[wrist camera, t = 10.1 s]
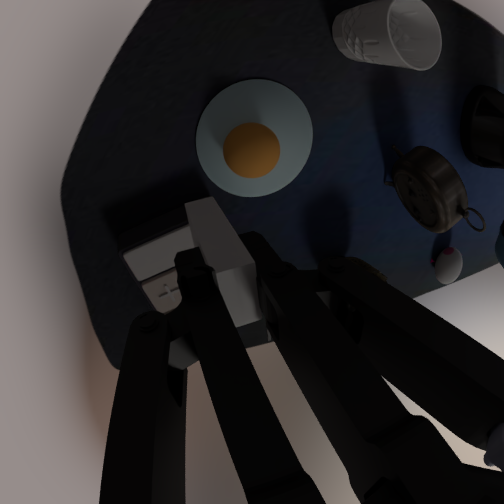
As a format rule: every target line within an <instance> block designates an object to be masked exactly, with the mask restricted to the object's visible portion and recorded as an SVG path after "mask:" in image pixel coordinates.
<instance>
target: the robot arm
mask: <svg viewBox="0 0 504 504" xmlns="http://www.w3.org/2000/svg"><path fill="white" fill-rule="evenodd" d="M461 141H462V146H463V150H464V153H465V155H466V157H467V158H468V160H469V161H470V162H472V163H474V164H476V165H478V166H481V167H485V168H500V169H504V94H502V93H501V92H499V91H498V90H496V89H494V88H492V87H488V86H484V85H480V86H477V87H475V88H474V89H473V90H472V91H471V92H470V94H469V96H468V98H467V100H466V102H465V105H464V109H463V113H462V119H461ZM184 204H185V208H186V213H187V217H188V222H189V226H190V230H191V235H192V239H193V243H194V247H195V248H191V249H187V250H184V251H180V252H177V253H176V256H175V258H174V263H175V267H176V271H177V284H178V287H179V290H180V293H181V296H182V300H181V302H180V304H179V305H178V306H177V307H176V308H175V309H174V310H172V311H171V312H169V313H167V314H166V315H164V313H161V312H159V311H149V312H145V313H143V314H141V315H139V316H137V317H136V318H135V319H134V320H133V322H132V324H131V326H130V329H129V333H128V337H127V341H126V346H125V350H124V354H123V359H122V363H121V367H120V372H119V377H118V381H117V386H116V392H115V396H114V402H113V407H112V412H111V418H110V424H109V430H108V436H107V442H106V449H105V456H104V464H103V471H102V480H101V490H100V499H99V504H185V433H186V398H187V373H188V370H187V367H188V366H190V365H192V364H193V363H195V362H197V361H198V360H199V361H200V364H201V368H202V371H203V374H204V378H205V381H206V384H207V387H208V390H209V394H210V397H211V400H212V403H213V406H214V409H215V412H216V415H217V418H218V421H219V424H220V427H221V430H222V432H223V435H224V438H225V441H226V444H227V447H228V449H229V452H230V455H231V458H232V460H233V463H234V466H235V468H236V471H237V473H238V476H239V479H240V481H241V484H242V486H243V489H244V492H245V495H246V499H247V501H248V504H326V503H325V501H324V499H323V497H322V495H321V494H320V492H319V490H318V488H317V486H316V485H315V483H314V481H313V480H312V478H311V477H310V476H309V475H308V474H307V473H306V472H305V471H304V469H303V468H302V466H301V464H300V462H299V461H298V459H297V456H296V454H295V452H294V450H293V448H292V446H291V444H290V442H289V440H288V438H287V436H286V434H285V432H284V430H283V428H282V426H281V424H280V422H279V420H278V418H277V416H276V414H275V412H274V410H273V407H272V405H271V403H270V401H269V399H268V397H267V395H266V393H265V391H264V389H263V386H262V384H261V382H260V380H259V378H258V376H257V374H256V371H255V369H254V367H253V365H252V362H251V360H250V358H249V356H248V354H247V352H246V349H245V347H244V345H243V343H242V340H241V338H240V336H239V334H238V331H237V329H236V327H239V326H242V325H245V324H248V323H251V322H254V321H258V320H261V319H262V313H261V310H262V312H263V314H264V316H265V319H266V328H267V337H268V341H270V340H271V336H272V338H273V340H274V342H275V343H276V345H277V347H278V349H279V351H280V353H281V355H282V356H283V358H284V360H285V362H286V364H287V365H288V367H289V369H290V371H291V373H292V375H293V376H294V378H295V380H296V382H297V384H298V385H299V387H300V389H301V390H302V393H303V394H304V396H305V398H306V400H307V402H308V403H309V405H310V407H311V409H312V410H313V412H314V414H315V416H316V417H317V419H318V421H319V423H320V425H321V426H322V428H323V430H324V431H325V433H326V435H327V437H328V439H329V440H330V442H331V444H332V446H333V447H334V449H335V451H336V453H337V454H338V456H339V458H340V460H341V461H342V463H343V465H344V466H345V468H346V470H347V472H348V475H349V480H350V484H351V487H352V489H353V491H354V493H355V494H356V496H357V498H358V500H359V501H360V503H361V504H504V360H503V359H502V358H501V357H499V356H498V355H496V354H495V353H493V352H492V351H490V350H489V349H488V348H486V347H485V346H483V345H482V344H480V343H479V342H477V341H476V340H474V339H473V338H471V337H470V336H468V335H467V334H465V333H464V332H462V331H461V330H459V329H458V328H456V327H455V326H453V325H452V324H450V323H449V322H447V321H446V320H444V319H443V318H441V317H440V316H438V315H436V314H435V313H434V312H432V311H430V310H429V309H427V308H426V307H424V306H423V305H421V304H420V303H418V302H416V301H415V300H413V299H412V298H410V297H409V296H407V295H405V294H404V293H402V292H401V291H399V290H397V289H396V288H394V287H393V286H391V285H389V284H388V283H386V282H384V281H383V280H381V279H380V278H378V277H376V276H375V275H373V274H371V273H370V272H368V271H367V270H365V269H363V268H362V267H360V266H358V265H357V264H355V263H353V262H352V261H350V260H348V259H346V258H343V257H338V256H333V257H328V258H325V259H323V260H322V261H320V263H319V265H318V269H316V270H297V268H296V267H295V266H294V265H292V264H291V263H288V262H283V261H282V260H281V259H280V258H279V256H278V255H277V254H276V252H275V251H274V250H273V249H272V247H270V245H269V243H268V242H266V240H265V238H264V237H263V236H262V235H261V234H259V233H257V232H255V231H251V232H247V233H244V234H240V235H237V233H236V232H235V230H234V229H233V227H232V226H231V224H230V223H229V221H228V219H227V218H226V216H225V215H224V213H223V212H222V210H221V209H220V207H219V205H218V204H217V202H216V201H215V199H214V198H213V196H212V197H208V198H204V199H200V200H196V201H192V202H188V203H184ZM495 253H496V256H497V259H498V261H499V262H500V264H501V265H502V267H503V268H504V220H503V223H502V224H501V226H500V232H499V235H498V238H497V241H496V244H495ZM350 305H351V306H353V307H354V308H356V309H354V308H352V307H351V306H350ZM382 376H383V377H384V378H385V379H386V380H387V381H389V382H390V383H391V384H392V385H394V386H395V387H396V388H397V389H399V390H400V391H401V392H402V393H404V394H405V395H406V396H407V397H409V398H410V399H411V400H412V401H413V402H415V403H416V404H417V405H419V406H420V407H421V408H422V409H423V410H425V411H426V412H427V413H429V414H430V415H431V416H432V417H433V418H435V419H436V420H437V421H438V422H440V423H441V424H442V425H443V426H445V427H446V428H447V429H449V430H450V431H451V432H452V433H454V434H455V435H456V436H458V437H459V438H461V439H462V440H463V441H465V442H467V443H469V444H470V445H473V446H474V447H476V448H479V449H482V450H485V451H486V453H485V455H484V463H485V464H486V465H487V466H494V465H495V466H497V467H498V468H500V469H501V471H502V472H501V471H496V470H491V469H486V468H481V467H477V466H473V465H468V464H464V463H462V462H461V461H460V459H459V458H458V457H457V456H456V454H455V453H454V451H453V450H452V449H451V447H450V446H449V445H448V443H447V442H446V441H445V439H444V438H443V437H442V435H441V434H440V433H439V431H438V430H437V429H436V427H435V426H434V425H433V424H432V423H431V422H430V421H429V420H428V419H427V418H425V417H424V416H420V415H412V414H410V413H409V412H408V411H407V409H406V408H405V407H404V405H403V404H402V403H401V401H400V400H399V399H398V397H397V396H396V395H395V393H394V392H393V391H392V389H391V388H390V387H389V385H388V384H387V383H386V382H385V380H384V379H383V378H382Z"/></svg>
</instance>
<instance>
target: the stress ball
mask: <svg viewBox="0 0 504 504" xmlns="http://www.w3.org/2000/svg"><path fill="white" fill-rule="evenodd" d="M462 255H463V254H462ZM431 262H435V261H433V259H431ZM431 262H430V263H431ZM462 263H463V261H462V256H461V253H460V252H459V250H458V249H456V248H454V247H448V248H446V249H444V250H443V251H442V252H441V253H440V254H439V256H438V258H437V260H436V263H435V275H436V277H437V279H438V280H439V281H440V282H441V283H443V284H449V283H452V282H453V281H454V280H456V279H457V277H458V276H459V274H460V272H461V269H462Z"/></svg>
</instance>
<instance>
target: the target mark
mask: <svg viewBox="0 0 504 504" xmlns="http://www.w3.org/2000/svg"><path fill="white" fill-rule="evenodd" d="M250 122H254V123H259V124H262V125H265V126H267V127H268V128H269V129H271V130H272V131H273V132H274V134H275V135H276V136H277V138H278V141H279V144H280V157H279V160H278V162H277V164H276V166H275V167H274V168H273V170H271V171H270V172H269V173H268V174H266V175H264V176H262V177H258V178H245V177H241V176H239V175H237V174H236V173H234V172H233V171H232V170H231V169H230V168H229V167H228V165H227V164H226V162H225V159H224V156H223V145H224V141H225V139H226V137H227V135H228V134H229V133H230V131H231V130H233V129H234V128H235V127H237V126H239V125H241V124H244V123H250ZM312 138H313V131H312V123H311V119H310V116H309V113H308V111H307V109H306V107H305V105H304V104H303V102H302V101H301V100H300V98H299V97H298V96H297V95H296V94H295V93H294V92H293V91H291V90H290V89H288V88H287V87H285V86H283V85H281V84H279V83H276V82H273V81H269V80H263V79H253V80H245V81H241V82H238V83H235V84H233V85H231V86H229V87H227V88H225V89H224V90H222V91H221V92H220V93H218V94H217V95H216V96H215V97H214V98H213V99H212V100H211V101H210V103H209V104H208V105H207V107H206V108H205V110H204V112H203V113H202V116H201V118H200V120H199V124H198V127H197V133H196V149H197V155H198V158H199V162H200V164H201V166H202V168H203V170H204V171H205V173H206V174H207V176H208V177H209V178H210V179H211V180H212V182H214V183H215V184H216V185H217V186H218V187H220V188H221V189H223V190H225V191H227V192H229V193H231V194H235V195H238V196H244V197H258V196H264V195H268V194H270V193H273V192H275V191H278V190H280V189H281V188H283V187H284V186H286V185H287V184H288V183H290V182H291V181H292V180H293V179H294V178H295V177H296V176H297V175H298V174H299V172H300V171H301V170H302V168H303V167H304V165H305V163H306V161H307V159H308V156H309V154H310V151H311V146H312Z"/></svg>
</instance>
